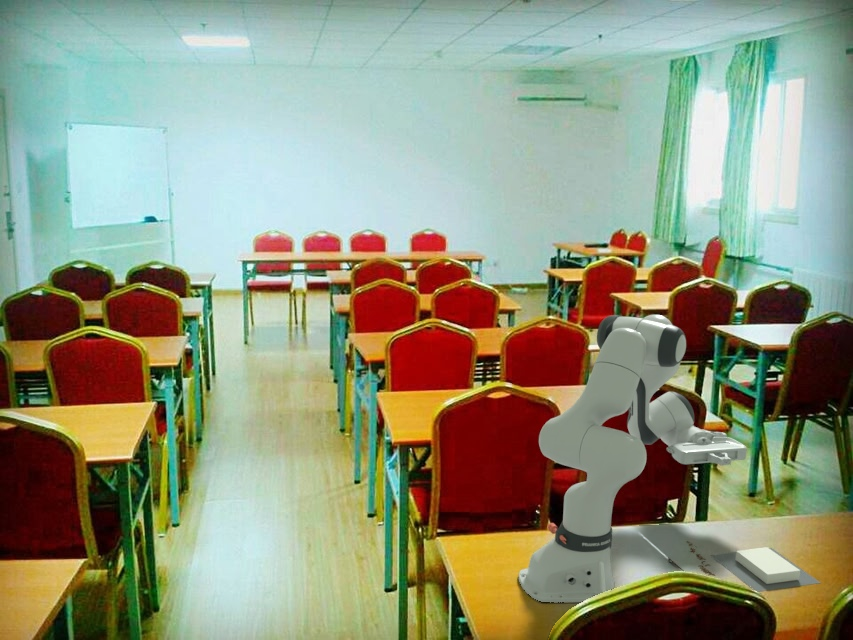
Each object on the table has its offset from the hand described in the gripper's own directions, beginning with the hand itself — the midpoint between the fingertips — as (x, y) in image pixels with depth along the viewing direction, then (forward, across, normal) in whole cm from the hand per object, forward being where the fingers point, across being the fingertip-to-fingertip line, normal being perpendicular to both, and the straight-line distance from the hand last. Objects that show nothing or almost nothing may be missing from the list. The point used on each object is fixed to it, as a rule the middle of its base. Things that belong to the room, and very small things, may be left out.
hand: (726, 462), depth 207 cm
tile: (+13, 0, +19) cm, 23 cm away
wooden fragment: (+8, -15, +22) cm, 28 cm away
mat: (+18, 0, +21) cm, 28 cm away
